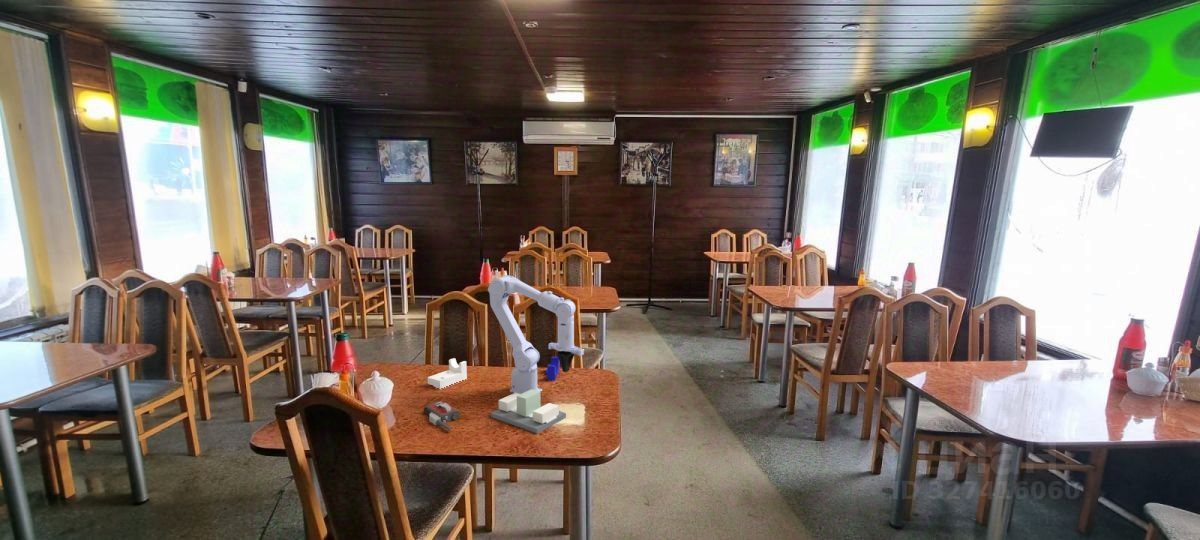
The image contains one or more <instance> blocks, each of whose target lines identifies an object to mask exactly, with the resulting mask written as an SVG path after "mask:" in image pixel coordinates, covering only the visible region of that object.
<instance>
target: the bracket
mask: <svg viewBox="0 0 1200 540" xmlns="http://www.w3.org/2000/svg"><path fill="white" fill-rule="evenodd" d="M467 372H468V370H467V361H466V360H463V361H461V362H459V363H457V360H456V358H455V357H453V358H450V359H449V360H448V369H447V370H444V371H442V372H439V373H436V374H433V375H431V376H430V375H429V376H427V385H431V386H432V387H433V388H434V387H436V388H435V389H437V388H439V389H438V390H442V389H441V388H443V389H445V388H447V387H446V386H448V387H450V386H449V385H451V384H453V385H455V384H454V383H456V382H458V383H460V382H459V381H461V382H463V381H462V380H464V381H466V380H468V373H467ZM465 379H466V380H465ZM456 384H457V383H456ZM451 386H452V385H451ZM444 387H445V388H444Z"/></svg>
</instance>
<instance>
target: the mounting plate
mask: <svg viewBox="0 0 1200 540" xmlns="http://www.w3.org/2000/svg"><path fill="white" fill-rule="evenodd" d="M518 395H520V394H518V393H512V394H509V395H507V396H505V397H503V398H500V399H498V409H496V410H494V411H492V412H490V418H492V419H494V420H495V419H496V420H497V421H501V422H503V423H506V424H509V425H513V426H515V427H517V428H521V429H523V430H526V431H529V432H532V433H535V434H539V433H541V432H543V431H544V430H547V429H548V428H550V427H552V426H553V425H555V424H557V423H558V422H560V421H562V420H564V419H566V418H567V413H566V412H564V411H561V410H560V406H559V405H557V404H554V403H550V402H548V403H546V404H544V405H542V404H541V407H540V408H538V409H536V410H534V411H533V413H532V414H531V415H529V416H527V417H525V416H522V415H519V414H517V396H518Z"/></svg>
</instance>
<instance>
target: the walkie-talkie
mask: <svg viewBox="0 0 1200 540" xmlns="http://www.w3.org/2000/svg"><path fill="white" fill-rule="evenodd" d="M423 412H425V413H426V415H428V417H429V422H430V423H431V424H432V425H433V426H437V425H438V426H440V427H442V428H444V429H446V430H447V431H452V428H451V427H450V426H449V425H447V424H446V423H448V422H451V421H456V420H457V419H459V418H460V410H459V409H457V408H455V407H454V406H452V405H451V404H449V403H447V402H445V401H444V400H443V401H442V400H438V401H435V402H432V403H428V404H427V405H426V407H424V408H423Z"/></svg>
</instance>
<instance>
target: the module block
mask: <svg viewBox="0 0 1200 540" xmlns="http://www.w3.org/2000/svg"><path fill="white" fill-rule="evenodd" d="M541 401H542V399H541V392H539V391H535V390H532V389H531V390H529V391H526V392H524V393H522V394H520V395H518V396H517V414H519V415H522V416H525V417H527V416H529V415H531V414H532V413H533V411H534V410H536V409H538V408H540V407H541V405H542V404H541Z"/></svg>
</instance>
